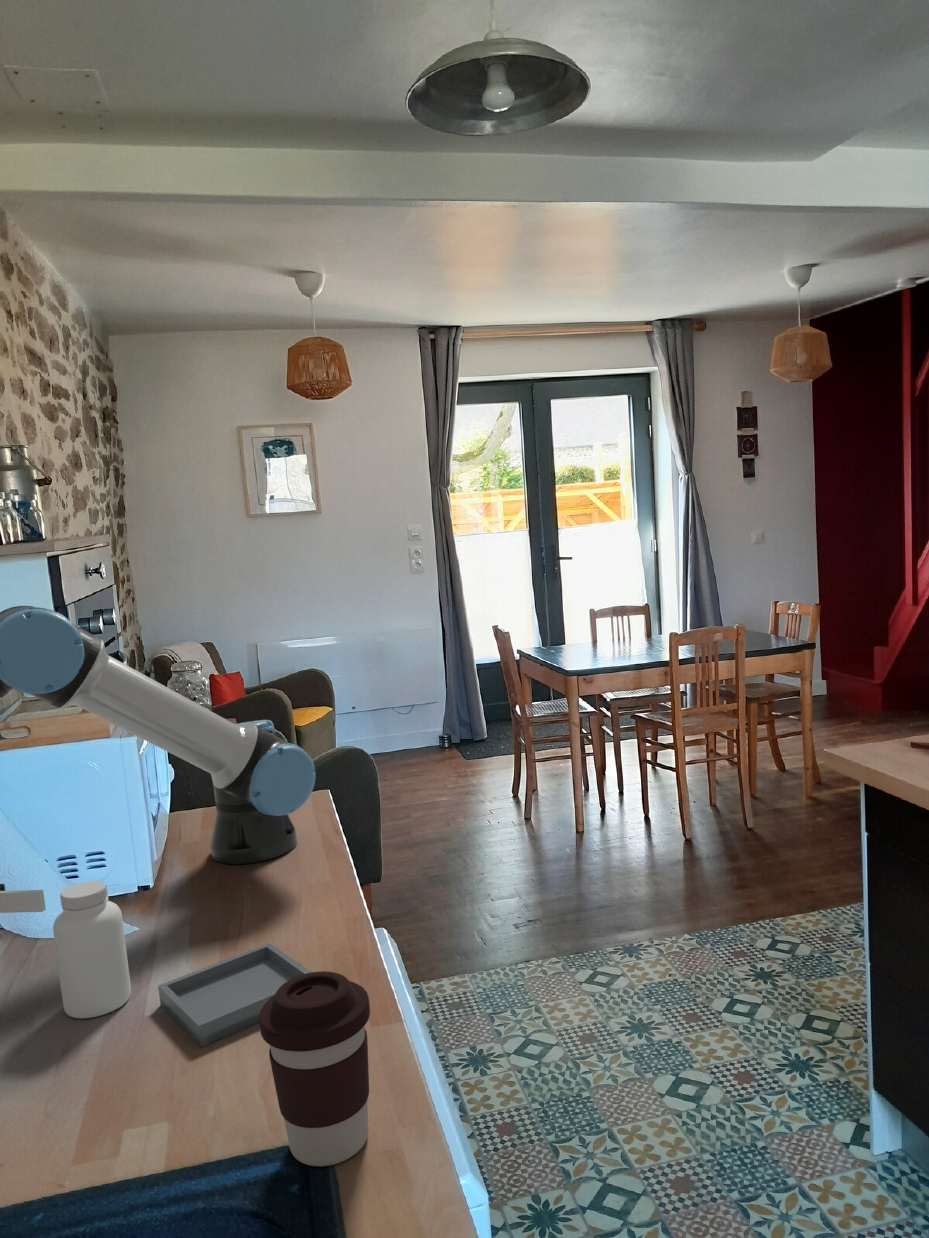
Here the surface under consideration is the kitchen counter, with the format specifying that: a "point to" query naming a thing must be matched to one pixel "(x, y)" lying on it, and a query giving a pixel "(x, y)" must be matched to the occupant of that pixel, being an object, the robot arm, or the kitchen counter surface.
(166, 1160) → the kitchen counter surface
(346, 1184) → the kitchen counter surface
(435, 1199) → the kitchen counter surface
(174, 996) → the tray
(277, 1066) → the coffee cup
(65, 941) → the pill bottle
